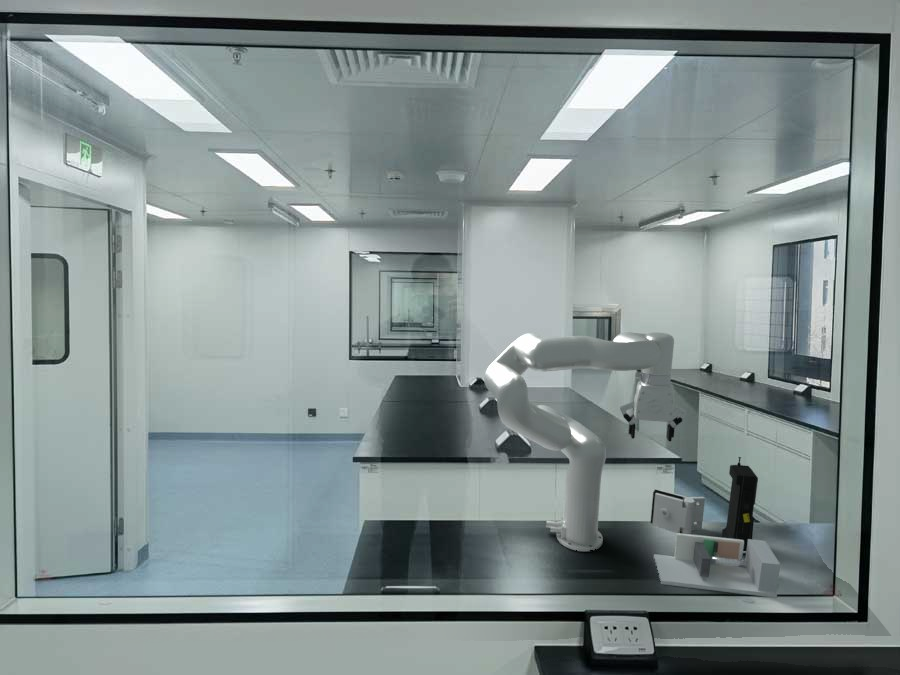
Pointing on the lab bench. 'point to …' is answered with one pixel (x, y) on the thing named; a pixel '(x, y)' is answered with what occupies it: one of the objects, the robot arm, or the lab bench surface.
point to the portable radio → (741, 504)
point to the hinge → (677, 511)
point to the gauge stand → (749, 580)
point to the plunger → (712, 559)
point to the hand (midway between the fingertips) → (650, 438)
